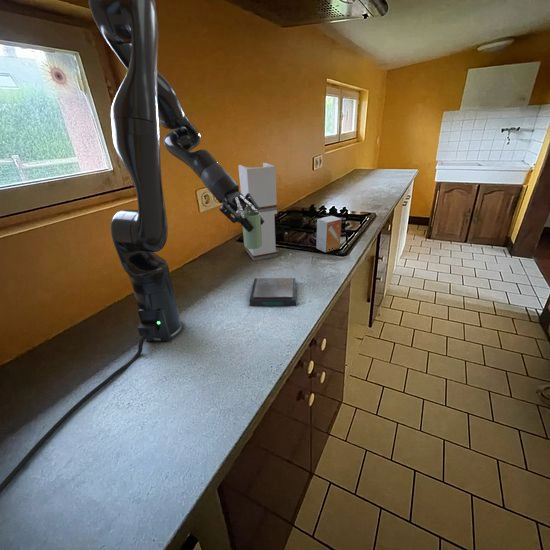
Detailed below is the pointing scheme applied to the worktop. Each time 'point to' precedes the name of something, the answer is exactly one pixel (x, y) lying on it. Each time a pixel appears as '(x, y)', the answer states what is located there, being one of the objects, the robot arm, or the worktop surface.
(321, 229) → the small box
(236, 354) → the worktop surface
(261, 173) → the tall white tower
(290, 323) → the worktop surface
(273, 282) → the scale
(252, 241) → the cup
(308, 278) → the worktop surface
